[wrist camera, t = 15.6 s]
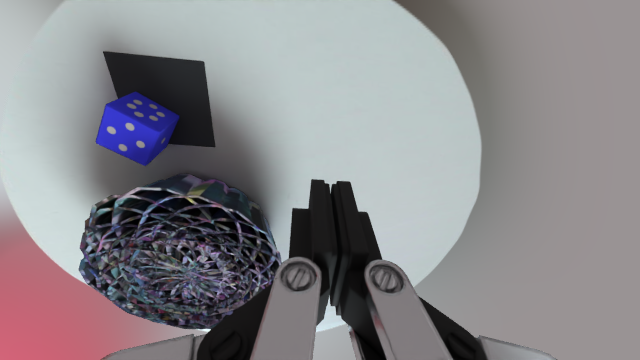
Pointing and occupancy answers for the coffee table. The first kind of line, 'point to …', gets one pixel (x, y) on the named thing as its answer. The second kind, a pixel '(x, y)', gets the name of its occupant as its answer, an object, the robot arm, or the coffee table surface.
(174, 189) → the decorative bowl
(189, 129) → the pad
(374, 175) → the coffee table surface
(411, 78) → the coffee table surface
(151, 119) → the die
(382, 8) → the coffee table surface
